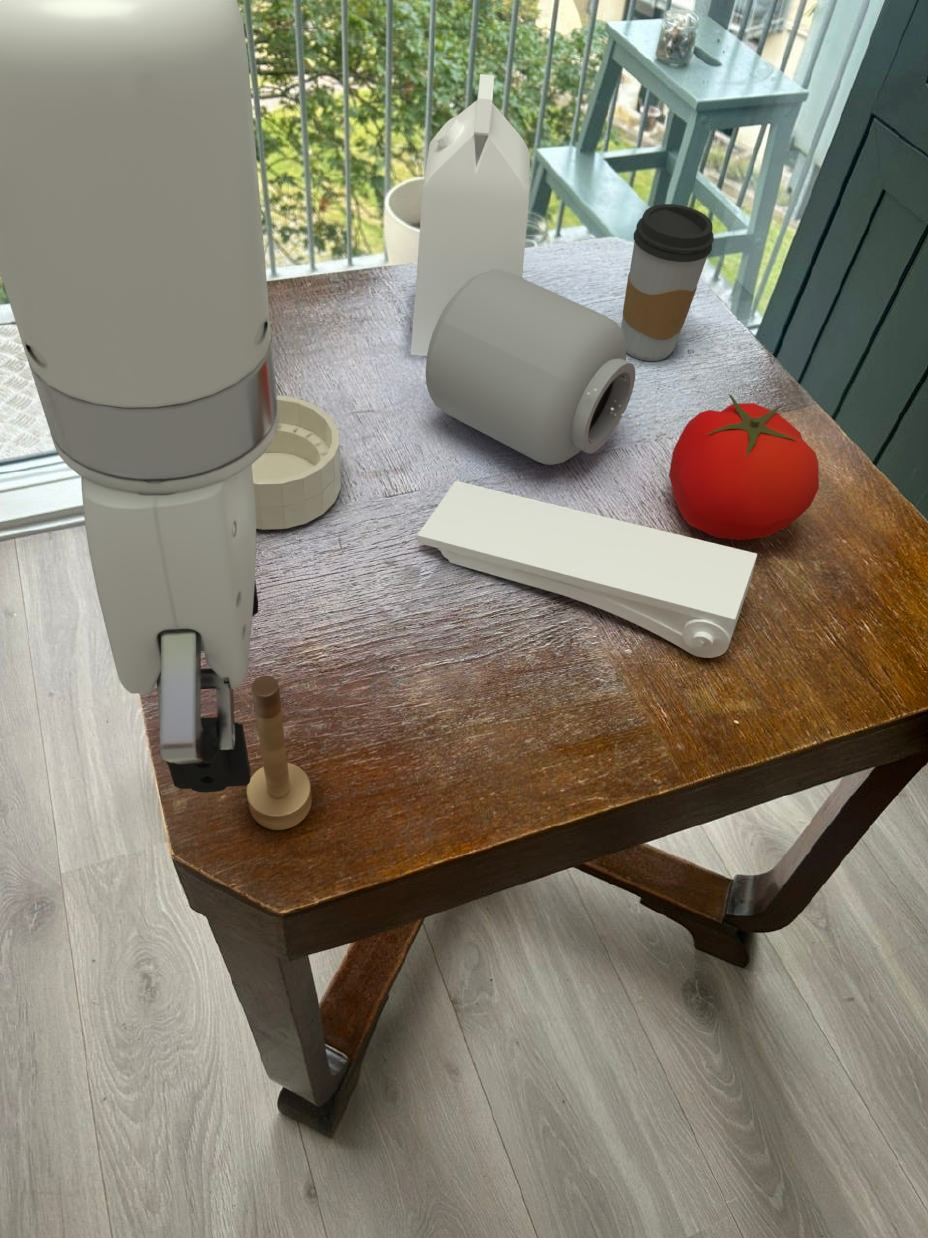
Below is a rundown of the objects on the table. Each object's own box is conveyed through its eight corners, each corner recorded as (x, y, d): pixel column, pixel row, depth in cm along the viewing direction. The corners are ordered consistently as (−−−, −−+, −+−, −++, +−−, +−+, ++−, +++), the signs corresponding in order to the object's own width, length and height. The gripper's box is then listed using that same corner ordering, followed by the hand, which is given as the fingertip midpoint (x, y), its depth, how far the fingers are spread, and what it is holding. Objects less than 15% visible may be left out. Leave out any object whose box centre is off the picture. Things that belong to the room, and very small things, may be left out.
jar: (545, 309, 105) (740, 389, 91) (484, 432, 107) (664, 527, 94) (448, 233, 89) (666, 317, 76) (379, 379, 92) (577, 484, 78)
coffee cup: (665, 323, 114) (697, 199, 102) (693, 364, 108) (731, 238, 97) (599, 329, 112) (625, 203, 100) (625, 370, 107) (656, 243, 95)
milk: (514, 364, 106) (547, 118, 86) (410, 354, 105) (420, 105, 86) (515, 305, 114) (546, 68, 94) (419, 296, 113) (429, 56, 94)
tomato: (685, 457, 97) (717, 361, 89) (810, 511, 93) (856, 415, 85) (635, 525, 90) (664, 426, 81) (768, 586, 86) (814, 489, 78)
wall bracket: (424, 593, 90) (721, 678, 81) (409, 550, 83) (729, 637, 75) (464, 511, 94) (751, 583, 85) (453, 463, 88) (761, 536, 79)
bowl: (178, 500, 88) (167, 449, 83) (259, 430, 95) (254, 379, 90) (290, 553, 84) (286, 502, 80) (365, 475, 92) (365, 425, 87)
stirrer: (236, 812, 67) (212, 695, 57) (273, 766, 70) (256, 646, 60) (288, 841, 66) (273, 727, 56) (323, 793, 69) (315, 676, 58)
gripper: (83, 250, 37) (156, 560, 50) (-15, 579, 26) (112, 867, 39) (280, 254, 38) (302, 557, 51) (268, 573, 27) (300, 856, 40)
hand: (220, 691), depth 45 cm, fingers open, 9 cm apart
